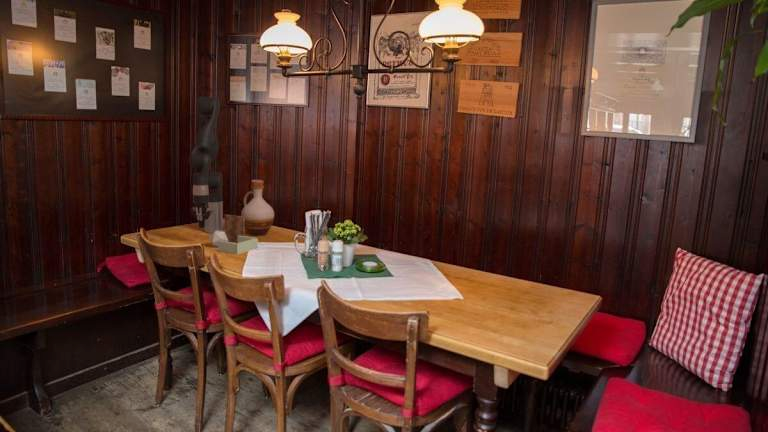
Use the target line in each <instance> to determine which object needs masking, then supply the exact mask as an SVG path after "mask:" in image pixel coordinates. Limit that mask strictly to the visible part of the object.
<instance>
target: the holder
mask: <svg viewBox="0 0 768 432" xmlns="http://www.w3.org/2000/svg"><path fill="white" fill-rule="evenodd" d="M258 240H259V239H258V237H253V236H251V237H250V236H246V235H245V236H240V235H239V236H238V243H233V242H225V241H218V247H217V249H218V252H219V253H226V254H227V253H228V254H233V255H240V254H244V253H246V252H249V251H253V250H255V248H256V249H258V248H259V247H258V242H259V241H258ZM252 249H253V250H252Z"/></svg>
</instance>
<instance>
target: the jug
mask: <svg viewBox="0 0 768 432" xmlns="http://www.w3.org/2000/svg"><path fill="white" fill-rule="evenodd" d="M250 181H251V189H252V190H249V191H248V192H247V193H246V194H245V195H244V196H243V197H244V198H243V208H242V210H241V214H240V216H242V217H245V231H247V232H248V234H250V236H252V237H253V236H255V237H261V236H265V235H266V234H267V233H268V232H269V231H270V229H271V228H272V225H273V223H274V220H275V211H274V209H273V207H272V206H271V205H270V204H269V203H267V201H266V200H265V199H264V198H263V190H264V183H265V180H262V179H252V180H250ZM250 194H252V195H253V196H252V199H251V200H249V202H248V203H247V199H248V198H249V196H250Z"/></svg>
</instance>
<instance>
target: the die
mask: <svg viewBox="0 0 768 432" xmlns="http://www.w3.org/2000/svg"><path fill="white" fill-rule="evenodd" d="M208 239H209V241H210V243H211V246H212V247H214V248H218V241H225V242H228V239H227V236H226V234H225V230H223V231H217V230H216V231H215V232H214V233H211V234H210V235H209V236H208Z"/></svg>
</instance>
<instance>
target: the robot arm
mask: <svg viewBox="0 0 768 432" xmlns="http://www.w3.org/2000/svg"><path fill="white" fill-rule="evenodd" d="M220 101H221V100H219V98H218V97H215V96H203V95H202V96H201V95H200V96H198V97H197V100H196V111H197V112H196V113H197V119H198V127H199V130H198V132H197V134H196V138H195V139H196V140H195V145H194V147H193V148H192V150H191V153H190V155H189V157H188V165H189V166H190V168H193V169H195V168H196V169H201V171H200V172H194V173H193V176H192V181H193V182H192V184H193V186H192V203H193V207H192V208H190V209H189V210H190V213H191V214H192V216H193V217H194V219H195V220H197V222H198V227H199V228H200V229H204V230H203V231H204V233H205V232H206V233H208V234H213V233H214V232H215V231H216V230H217V231H224V217H223V216H224V212H223V210H224V209H223V206H224V205H223V204H224V203H223V179H224V178H223V174H222V172H220V171H218V172H217V171H210V168H211V164H212V162H213V160H214V159H215V157H216V156H217V155H218V151H219V139H218V136H217V134H216V133H215V131H214V130H215V127H216V124H217V121H218V118H219V117H218V116H219V114H220V110H221V103H220ZM207 116H209V118H208V119H207ZM210 190H215V192H213V193H210V192H209V191H210Z"/></svg>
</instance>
